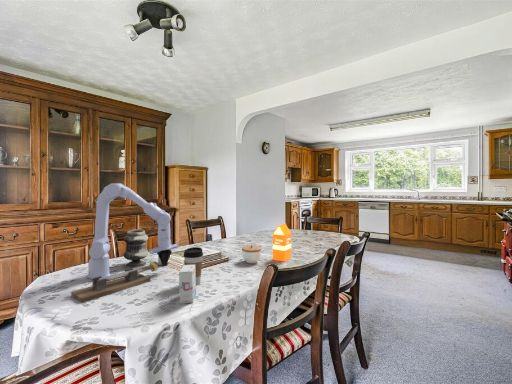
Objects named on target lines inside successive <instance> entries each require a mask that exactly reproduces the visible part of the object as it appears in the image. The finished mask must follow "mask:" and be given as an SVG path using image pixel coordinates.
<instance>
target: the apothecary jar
mask: <svg viewBox="0 0 512 384" xmlns="http://www.w3.org/2000/svg"><path fill="white" fill-rule="evenodd" d="M148 239H149V236H148V235H147V234H146V230H144V229H132V230H128V231H127V233H126V235H124V237H123V241H124V242H125V244H126V249H125V251H124V252H123V258H125V260H127V261H129V262H126V264H125V266H126V267H128V268H137V267H138V268H140V267H144V266H146V264H147V262H146V261H144V260H143V259H145V258H147V256H148V255H149V250H148V249H147V246H146V244H147V241H148Z"/></svg>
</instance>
